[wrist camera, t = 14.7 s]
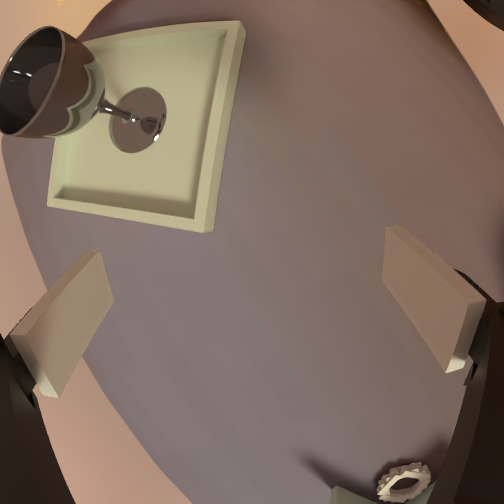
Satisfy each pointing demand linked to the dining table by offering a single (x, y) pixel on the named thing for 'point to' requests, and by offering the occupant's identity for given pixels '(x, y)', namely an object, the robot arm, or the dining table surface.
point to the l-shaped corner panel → (345, 500)
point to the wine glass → (71, 94)
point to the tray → (172, 136)
